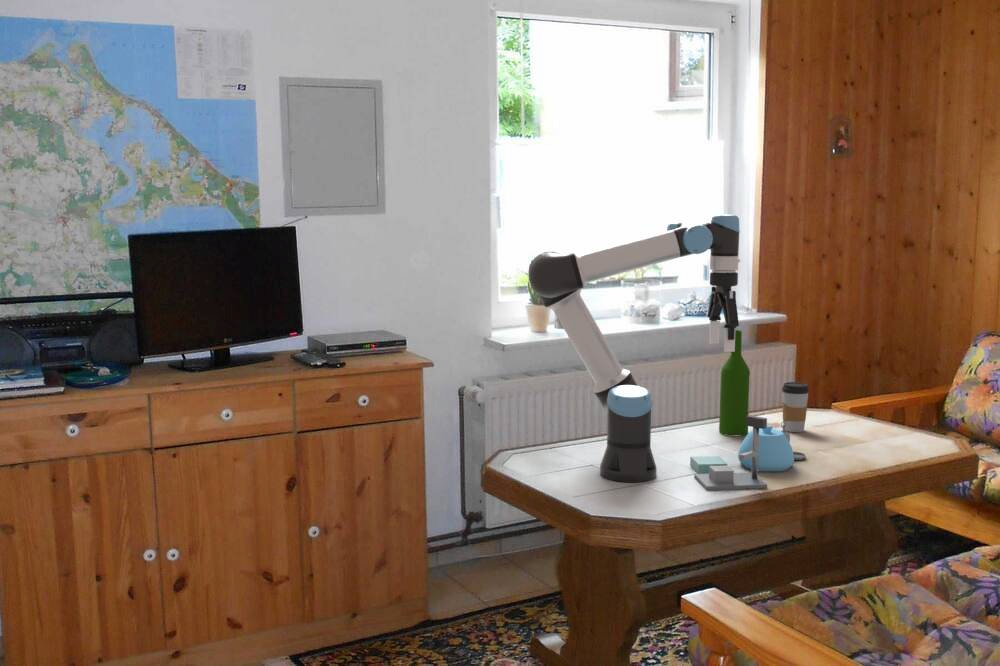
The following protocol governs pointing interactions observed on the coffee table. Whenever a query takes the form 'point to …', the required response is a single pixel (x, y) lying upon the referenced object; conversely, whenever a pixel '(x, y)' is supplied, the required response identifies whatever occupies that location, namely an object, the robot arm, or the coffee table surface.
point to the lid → (705, 463)
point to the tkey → (754, 442)
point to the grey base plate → (727, 479)
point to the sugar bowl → (769, 450)
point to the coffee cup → (794, 405)
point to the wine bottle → (734, 392)
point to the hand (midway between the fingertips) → (721, 347)
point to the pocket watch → (796, 454)
